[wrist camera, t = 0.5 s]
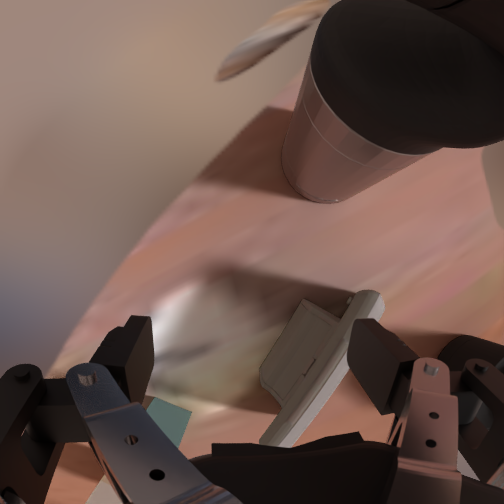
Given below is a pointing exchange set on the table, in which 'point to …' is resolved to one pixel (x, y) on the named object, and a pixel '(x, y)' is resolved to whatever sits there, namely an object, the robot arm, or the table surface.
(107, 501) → the cream cube
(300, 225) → the table surface
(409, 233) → the table surface
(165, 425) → the teal post
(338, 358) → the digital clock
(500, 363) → the pen holder
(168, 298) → the table surface
